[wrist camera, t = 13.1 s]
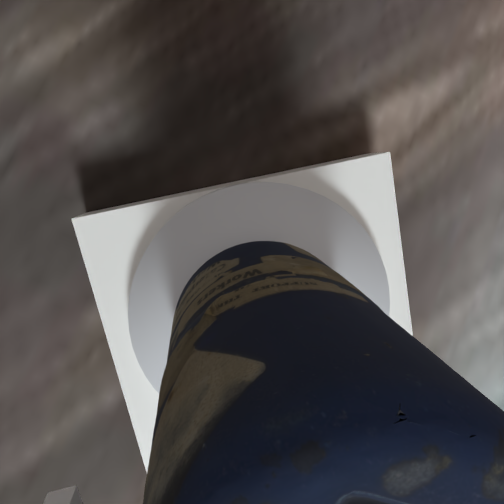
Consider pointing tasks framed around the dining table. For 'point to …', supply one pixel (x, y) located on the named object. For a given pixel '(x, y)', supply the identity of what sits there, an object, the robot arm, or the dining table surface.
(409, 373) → the canister
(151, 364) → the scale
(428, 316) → the dining table surface
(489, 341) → the dining table surface
